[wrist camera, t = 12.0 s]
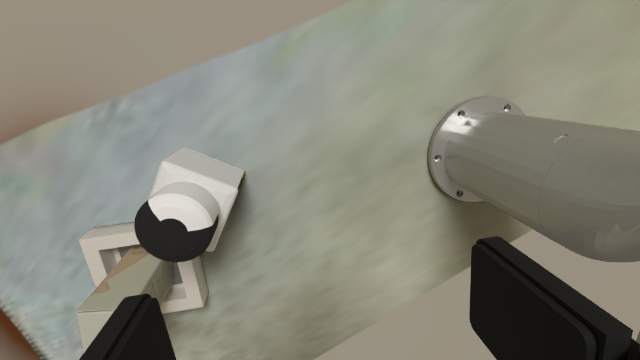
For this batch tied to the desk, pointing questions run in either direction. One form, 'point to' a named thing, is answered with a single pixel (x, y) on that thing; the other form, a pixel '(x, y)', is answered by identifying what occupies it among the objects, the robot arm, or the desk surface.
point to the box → (123, 289)
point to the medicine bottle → (187, 206)
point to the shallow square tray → (114, 242)
